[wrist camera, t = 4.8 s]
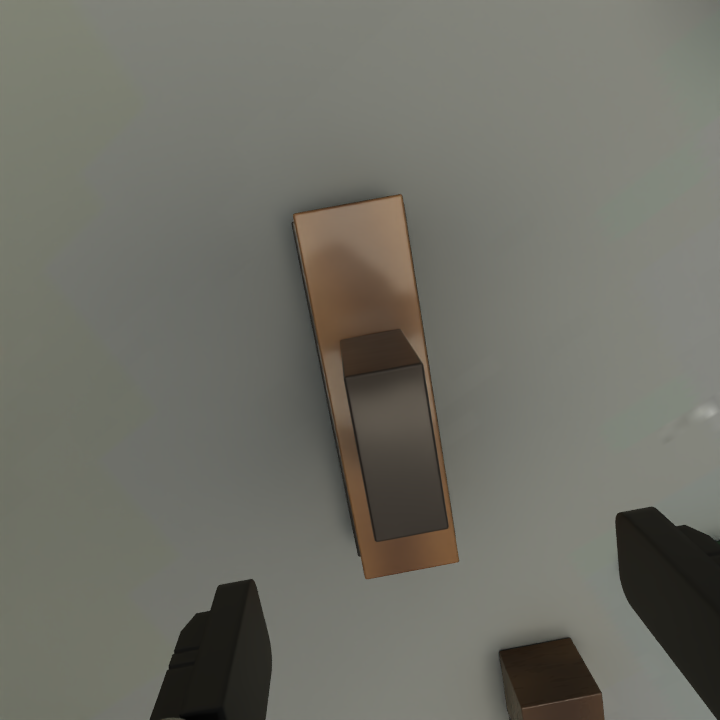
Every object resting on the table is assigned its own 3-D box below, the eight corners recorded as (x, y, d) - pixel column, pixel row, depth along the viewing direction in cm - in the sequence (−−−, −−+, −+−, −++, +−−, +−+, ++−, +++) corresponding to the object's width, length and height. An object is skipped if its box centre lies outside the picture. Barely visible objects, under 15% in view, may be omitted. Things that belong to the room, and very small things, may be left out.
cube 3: (507, 710, 34) (530, 774, 30) (498, 650, 33) (521, 708, 29) (576, 697, 34) (608, 759, 30) (570, 637, 33) (602, 692, 29)
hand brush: (357, 541, 31) (369, 678, 22) (292, 214, 27) (274, 214, 18) (449, 524, 31) (499, 653, 22) (397, 195, 27) (432, 185, 18)
